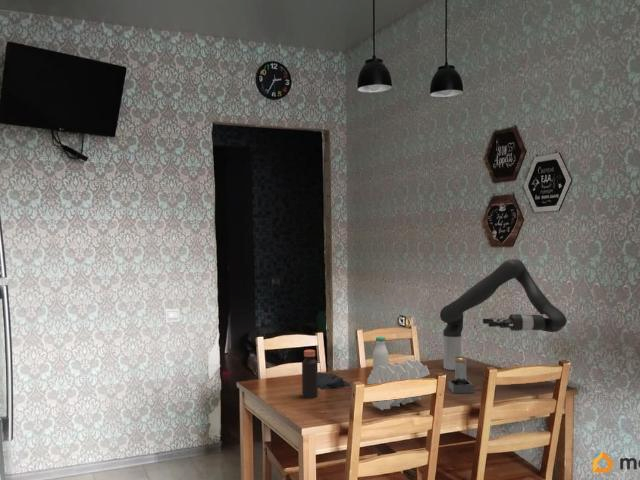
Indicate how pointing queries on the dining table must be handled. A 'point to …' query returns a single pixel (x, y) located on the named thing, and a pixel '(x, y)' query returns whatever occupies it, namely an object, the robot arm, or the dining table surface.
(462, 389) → the socket
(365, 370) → the dining table surface
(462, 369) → the grey cylinder
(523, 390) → the dining table surface
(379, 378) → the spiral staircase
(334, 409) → the dining table surface
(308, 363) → the vinegar
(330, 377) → the dark slate chunk
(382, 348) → the milk bottle
